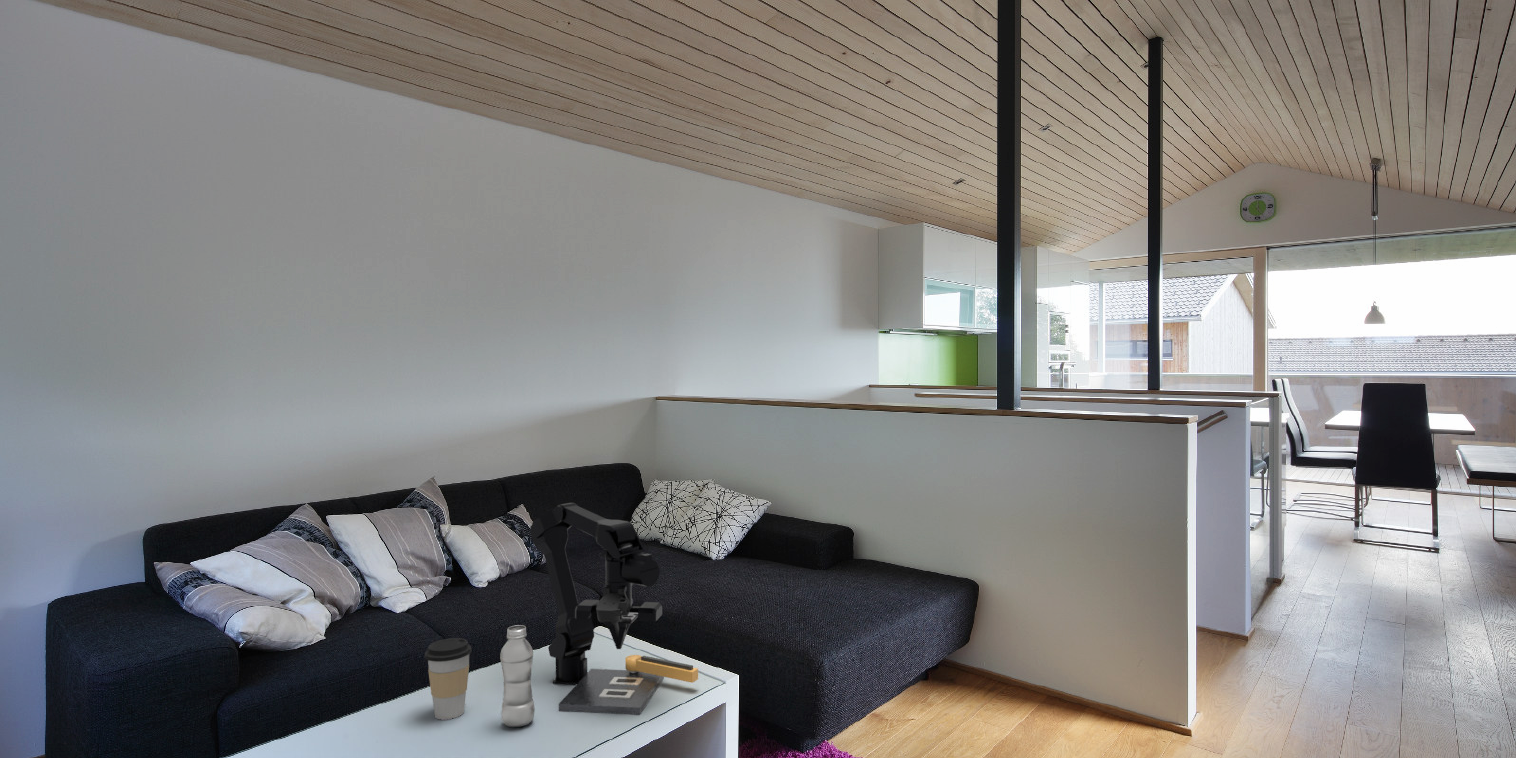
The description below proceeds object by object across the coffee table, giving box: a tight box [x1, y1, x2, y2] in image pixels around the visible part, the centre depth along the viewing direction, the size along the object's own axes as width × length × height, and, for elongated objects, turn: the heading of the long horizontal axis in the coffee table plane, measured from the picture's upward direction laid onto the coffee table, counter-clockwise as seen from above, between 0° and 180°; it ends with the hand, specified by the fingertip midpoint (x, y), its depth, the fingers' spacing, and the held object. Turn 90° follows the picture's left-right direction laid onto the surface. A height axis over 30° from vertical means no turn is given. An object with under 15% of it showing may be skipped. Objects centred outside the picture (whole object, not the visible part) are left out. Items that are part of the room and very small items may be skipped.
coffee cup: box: [423, 637, 473, 721], centre depth 164 cm, size 9×9×15 cm
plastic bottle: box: [499, 624, 536, 728], centre depth 159 cm, size 6×7×20 cm
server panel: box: [558, 668, 665, 716], centre depth 174 cm, size 18×20×2 cm
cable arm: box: [624, 654, 699, 684], centre depth 179 cm, size 4×19×3 cm, turn 62°
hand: (619, 648), depth 172 cm, fingers closed
